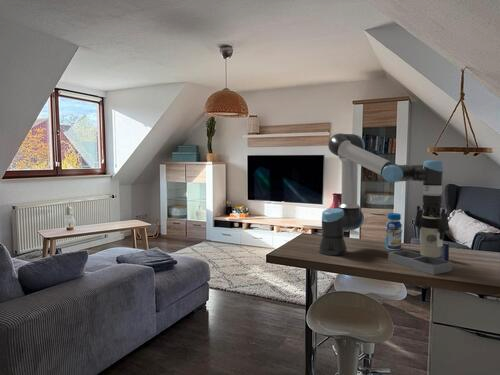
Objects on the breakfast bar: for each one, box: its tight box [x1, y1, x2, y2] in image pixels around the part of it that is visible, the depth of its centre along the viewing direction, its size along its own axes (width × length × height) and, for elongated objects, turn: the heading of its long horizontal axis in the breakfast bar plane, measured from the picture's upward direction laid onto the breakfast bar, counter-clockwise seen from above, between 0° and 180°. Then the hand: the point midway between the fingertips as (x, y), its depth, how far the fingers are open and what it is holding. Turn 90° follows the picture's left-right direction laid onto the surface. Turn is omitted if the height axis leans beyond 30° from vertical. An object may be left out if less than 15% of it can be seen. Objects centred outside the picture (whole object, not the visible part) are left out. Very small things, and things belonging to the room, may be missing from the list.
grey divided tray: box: [387, 249, 453, 276], centre depth 156 cm, size 24×13×4 cm, turn 25°
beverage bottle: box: [385, 212, 403, 251], centre depth 186 cm, size 8×8×20 cm
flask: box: [437, 240, 450, 262], centre depth 165 cm, size 9×3×11 cm, turn 24°
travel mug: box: [420, 215, 441, 258], centre depth 150 cm, size 8×8×18 cm
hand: (430, 244), depth 150 cm, fingers closed on travel mug, 8 cm apart
